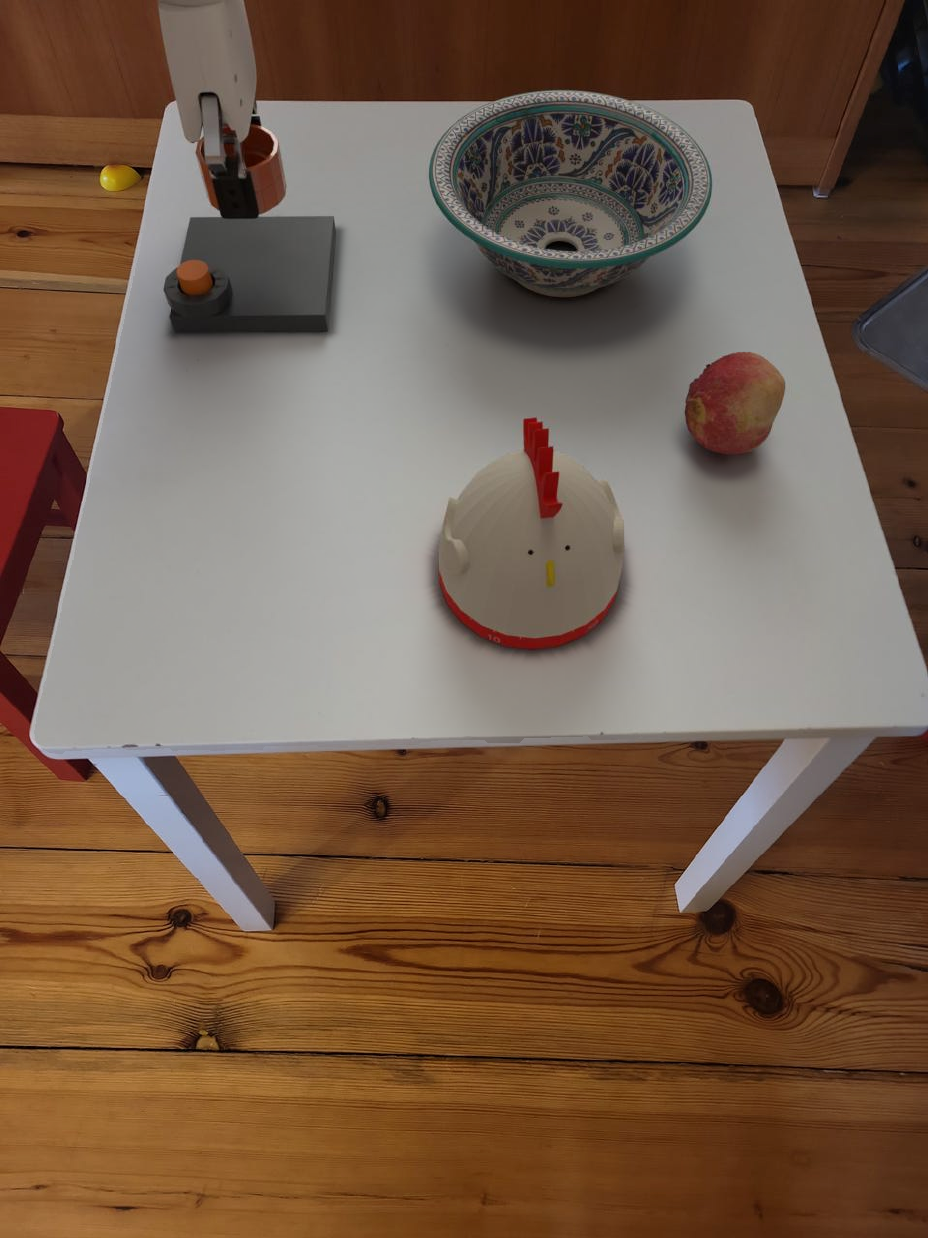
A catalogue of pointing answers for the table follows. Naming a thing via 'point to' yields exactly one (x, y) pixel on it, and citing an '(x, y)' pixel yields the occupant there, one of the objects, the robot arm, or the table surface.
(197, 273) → the button
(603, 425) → the table surface
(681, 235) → the bowl
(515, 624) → the kitchen timer
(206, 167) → the terracotta bowl
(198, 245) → the scale
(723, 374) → the fruit
